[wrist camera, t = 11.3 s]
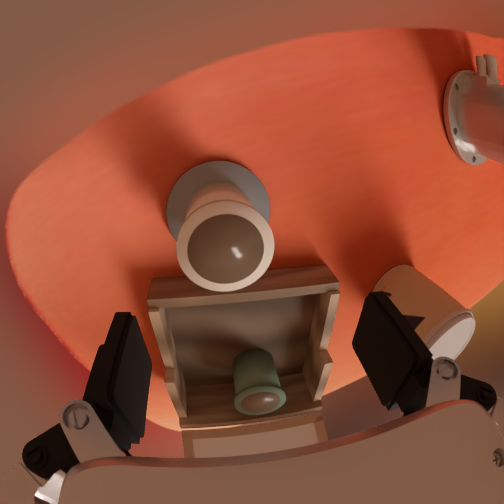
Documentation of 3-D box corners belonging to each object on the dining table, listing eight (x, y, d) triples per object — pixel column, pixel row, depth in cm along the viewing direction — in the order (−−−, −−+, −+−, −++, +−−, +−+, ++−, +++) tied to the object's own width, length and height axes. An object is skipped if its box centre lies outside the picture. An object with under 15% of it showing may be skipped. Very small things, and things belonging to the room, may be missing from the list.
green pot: (233, 346, 31) (239, 388, 26) (280, 347, 32) (292, 388, 27) (226, 376, 34) (231, 415, 28) (269, 376, 35) (278, 414, 29)
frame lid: (202, 556, 16) (203, 554, 16) (347, 530, 18) (345, 529, 19) (181, 430, 28) (182, 431, 29) (321, 412, 31) (319, 413, 32)
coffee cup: (363, 274, 31) (422, 343, 20) (422, 248, 31) (485, 300, 20) (365, 327, 35) (408, 392, 24) (418, 301, 35) (465, 354, 25)
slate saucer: (162, 164, 22) (161, 165, 21) (268, 158, 23) (271, 160, 22) (173, 259, 26) (172, 263, 25) (267, 252, 27) (268, 256, 26)
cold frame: (151, 278, 26) (140, 326, 20) (326, 264, 29) (355, 303, 23) (180, 386, 35) (181, 428, 28) (306, 371, 37) (321, 409, 31)
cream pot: (180, 180, 22) (170, 207, 15) (255, 176, 23) (276, 200, 16) (186, 248, 25) (182, 295, 18) (255, 243, 25) (273, 288, 19)
